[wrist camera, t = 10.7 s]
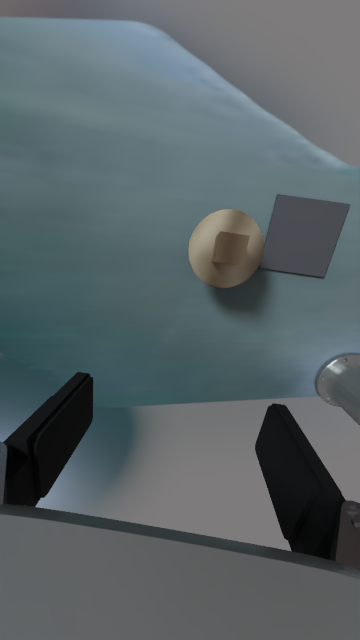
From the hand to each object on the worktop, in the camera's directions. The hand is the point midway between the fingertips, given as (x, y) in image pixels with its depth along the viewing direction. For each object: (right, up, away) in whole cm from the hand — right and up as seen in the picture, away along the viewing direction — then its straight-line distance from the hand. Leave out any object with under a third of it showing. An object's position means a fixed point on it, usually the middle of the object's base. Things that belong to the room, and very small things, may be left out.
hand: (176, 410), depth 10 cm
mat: (+22, +19, +24) cm, 38 cm away
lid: (+7, +15, +19) cm, 26 cm away
